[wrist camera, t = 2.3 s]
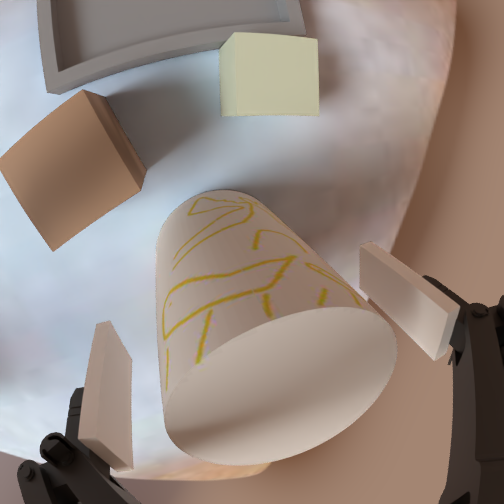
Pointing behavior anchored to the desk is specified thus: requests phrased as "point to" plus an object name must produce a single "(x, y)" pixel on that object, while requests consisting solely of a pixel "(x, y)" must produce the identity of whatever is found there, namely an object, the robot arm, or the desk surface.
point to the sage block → (269, 75)
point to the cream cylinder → (258, 336)
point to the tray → (145, 32)
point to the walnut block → (73, 168)
